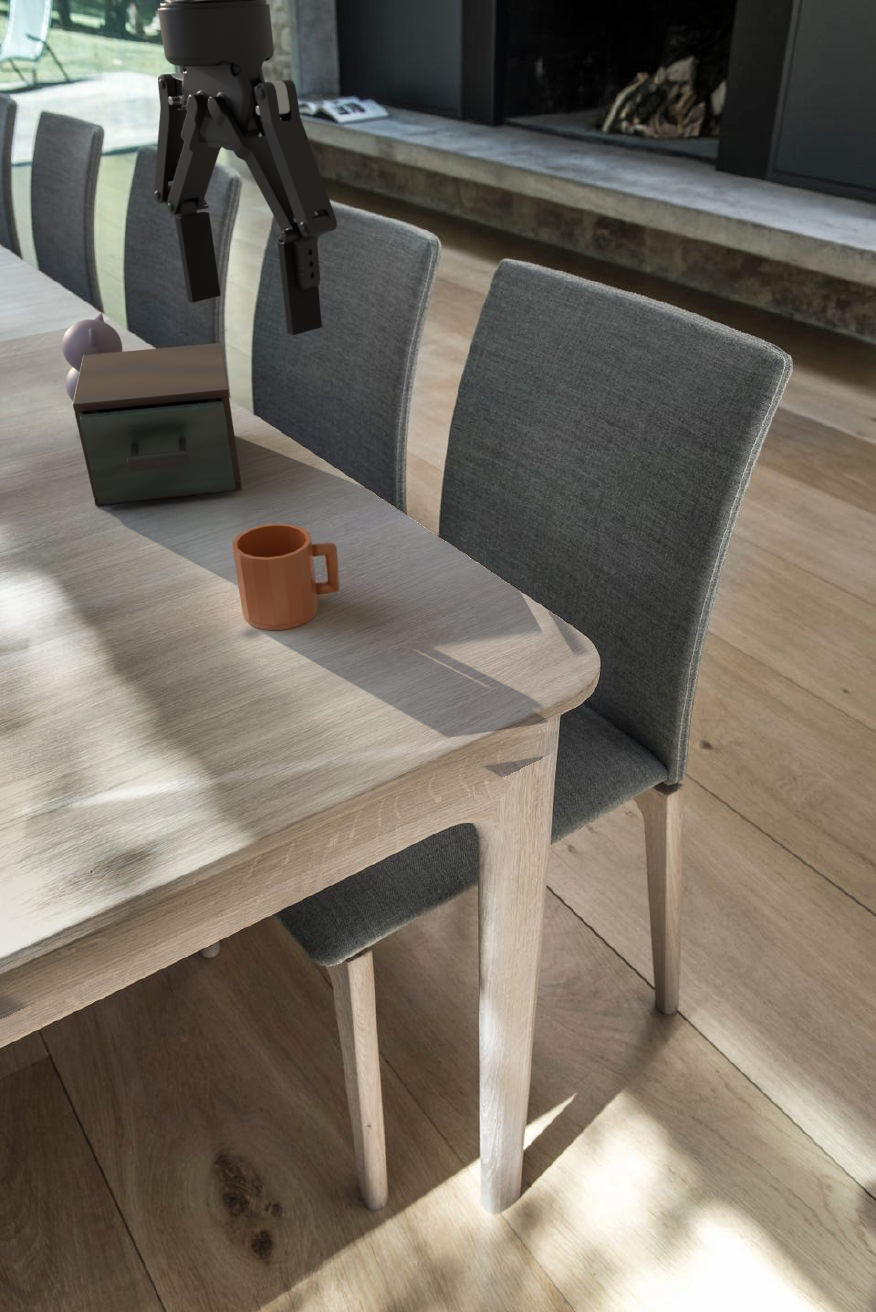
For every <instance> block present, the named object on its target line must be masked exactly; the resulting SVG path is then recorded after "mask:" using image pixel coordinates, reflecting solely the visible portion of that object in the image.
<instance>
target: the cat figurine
mask: <svg viewBox="0 0 876 1312" xmlns="http://www.w3.org/2000/svg"><path fill="white" fill-rule="evenodd" d="M61 348H62V354H63V356H64V359H65V361H66V362H67V363H68V365H70V366H71V368H70V370H69V371H68V373H67V375H66V378H65V388H66V389H65V390H66V393H67V396H68V397H69V399H70V400H71V401H72V402H73V401H74V396H75V392H76V387H77V382H78V378H79V373H80V368H81V364H82V359H83V355H89V354H101V353H112V352H123V343H122V340H121V337H120V335H119V333H118V331H117V330H116V329H115V328H114V327H112V326H111V325H110V324H109V323H108V322H107V323H106V322H105V319H104V315H103V311H101V312H100V313H98V315H97V316H96V317H95V318H94V319H93V318H91V319H90V318H88V319H83V320H79V321H77V322H75V323H73V324H72V325H71V326H70V327H69V328H68V329H66V332H65V333H64V334H63V337H62V342H61Z"/></svg>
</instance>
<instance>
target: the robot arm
mask: <svg viewBox="0 0 876 1312" xmlns="http://www.w3.org/2000/svg"><path fill="white" fill-rule="evenodd" d="M159 6H160V7H158V8H157V11H158V12H157V14H158V19H159V20H158V21H159V26H160V33H161V41H162V47H163V53H164V57H165V60H166V61H167V62H168V63H169V64H170V65H173V66H179V67H182V72H173V73H163V74H159V75H158V78H157V86H158V88H157V89H158V95H159V96H158V97H159V108H160V110H159V119H158V120H159V121H158V132H157V146H156V156H155V157H156V158H155V171H154V184H153V197H154V199H155V201H156V203H158V204H165V205H166V206H167V210H168V212H169V214H171V215H172V216H173V217H174V223H175V229H176V235H177V241H178V249H179V252H180V259H181V265H182V272H183V278H184V283H185V291H186V297H187V301H188V302H189V303H197V302H201V301H206V300H209V299H213V298H217V297H221V288H220V281H219V280H220V279H219V273H218V266H217V259H216V252H215V245H214V238H213V230H212V224H211V223H212V222H211V216H210V215H211V214H210V212H208V211H203V210H206V209H209V205H208V203H207V201H206V199H205V197H206V195H207V192H208V188H209V186H210V185H209V184H210V182H211V179H212V176H213V173H214V170H215V166H216V164H217V160H218V158H219V155H220V152H221V149H224V150H226V151H231V152H232V151H233V154H234V155H235V156H236V157H237V158H238V159H240V160H242V161H244V162H245V164H246V166H247V167H248V169H249V172H250V173H251V175H252V177H253V179H254V181H255V183H256V185H257V186H258V189H259V191H260V192H261V194H262V196H263V199H264V200H265V202H266V204H267V205H268V208H269V210H270V211H271V213H272V216H273V217H274V219H275V221H276V223H277V225H278V226H279V228H280V231H281V235H280V236H279V238H278V239H277V251H278V252H277V253H278V260H279V270H280V271H279V272H280V278H281V279H280V280H281V288H282V289H281V290H282V298H283V306H284V307H283V308H284V316H285V325H286V326H285V327H286V334H287V335H288V334H289V335H291V336H296V335H299V334H300V335H301V334H303V333H307V332H310V331H314V330H317V329H321V328H323V323H322V313H321V300H320V290H319V289H320V288H319V286H320V283H321V272H320V259H319V248H318V240H319V237H321V236H322V235H324V234H326V233H328V232H333V231H335V230H336V229H337V227H338V223H337V222H338V221H337V217H336V215H335V212H334V209H333V206H332V204H331V200H330V198H329V194H328V191H327V189H326V186H325V184H324V180H323V177H322V175H321V172H320V169H319V165H318V163H317V160H316V158H315V155H314V152H313V148H312V146H311V144H310V141H309V138H308V135H307V132H306V129H305V126H304V124H303V120H302V118H301V112H300V106H299V100H298V99H299V98H298V93H297V92H298V91H297V88H296V84H295V83H294V81H293V80H292V79H281V80H273V81H266V80H265V76H264V72H263V64H264V62H267V61H270V60H271V59H272V58H273V56H274V53H275V48H274V47H275V46H274V38H273V29H272V27H273V26H272V17H271V6H270V4H269V3H267V0H164V2H160V3H159ZM169 182H172V184H169ZM201 210H202V211H201ZM198 211H200V212H198Z"/></svg>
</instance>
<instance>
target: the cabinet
mask: <svg viewBox="0 0 876 1312" xmlns="http://www.w3.org/2000/svg"><path fill="white" fill-rule="evenodd" d="M224 360H225V359H224V353H223V346H222V343H221V342H216V343H215V342H214V343H205V344H204V343H203V344H193V345H182V346H170V347H169V346H168V347H160V348H149V349H148V348H147V349H146V348H145V349H135V350H126V351H125V350H124V351H123V350H122V352H112V353H101V354H89V355H83V359H82V364H81V368H80V373H79V378H78V382H77V387H76V392H75V396H74V401H72V407H73V412H74V416H75V422H76V425H77V429H78V434H79V439H80V444H81V448H82V451H83V458H84V462H85V465H86V470H87V474H88V479H89V482H90V487H91V493H92V496H93V501H94V505H95V507H99V506H100V507H101V506H107V505H108V506H109V505H118V504H125V503H126V504H127V503H135V502H145V501H155V500H161V499H171V498H172V499H173V498H181V497H190V496H198V495H207V494H216V493H217V494H218V493H224V492H226V493H227V492H236V491H242V490H243V487H242V481H241V473H240V465H239V457H238V451H237V444H236V437H235V436H236V435H235V429H234V422H233V421H234V420H233V416H232V409H231V408H232V407H231V401H230V393H229V386H228V380H227V373H226V372H227V371H226V366H225V361H224ZM216 398H217V402H218V401H223V402H224V409H225V416H226V423H227V430H228V437H229V444H230V451H231V458H232V465H233V472H234V479H235V486H236V489H232V490H223V491H214V492H205V493H196V494H187V495H178V496H169V497H160V498H151V499H142V500H133V501H124V502H115V503H106V504H99V502H98V498H97V493H96V489H95V484H94V480H93V475H92V471H91V466H90V462H89V457H88V453H87V448H86V444H85V439H84V435H83V430H82V426H81V422H80V417H81V415H84V414H90V411H91V410H102V409H112V408H122V407H133V406H143V405H153V404H164V403H174V402H185V401H195V400H205V399H216Z"/></svg>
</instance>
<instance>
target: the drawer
mask: <svg viewBox="0 0 876 1312" xmlns="http://www.w3.org/2000/svg"><path fill="white" fill-rule="evenodd" d="M80 422H81V426H82V430H83V435H84V439H85V444H86V448H87V453H88V457H89V462H90V466H91V471H92V475H93V480H94V484H95V489H96V493H97V498H98V502H99V504H106V503H115V502H124V501H133V500H142V499H151V498H160V497H169V496H178V495H187V494H196V493H205V492H214V491H223V490H232V489H236V486H235V479H234V472H233V465H232V458H231V451H230V444H229V437H228V430H227V423H226V416H225V409H224V402H223V401H218V402H217V398H216V399H205V400H195V401H185V402H174V403H164V404H153V405H143V406H133V407H122V408H112V409H102V410H91V411H90V414H84V415H81V417H80Z"/></svg>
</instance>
